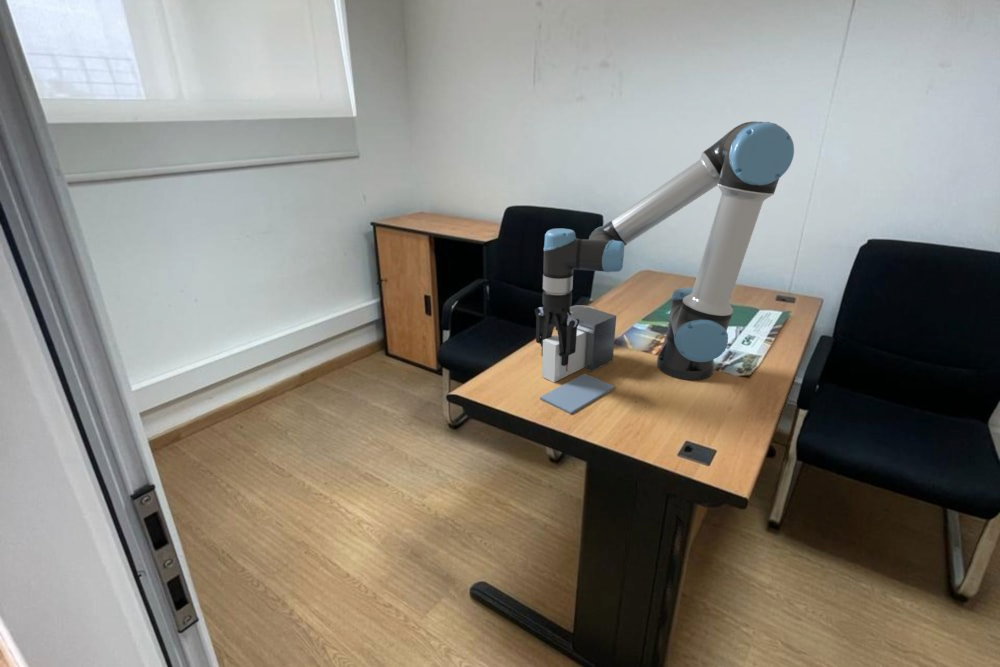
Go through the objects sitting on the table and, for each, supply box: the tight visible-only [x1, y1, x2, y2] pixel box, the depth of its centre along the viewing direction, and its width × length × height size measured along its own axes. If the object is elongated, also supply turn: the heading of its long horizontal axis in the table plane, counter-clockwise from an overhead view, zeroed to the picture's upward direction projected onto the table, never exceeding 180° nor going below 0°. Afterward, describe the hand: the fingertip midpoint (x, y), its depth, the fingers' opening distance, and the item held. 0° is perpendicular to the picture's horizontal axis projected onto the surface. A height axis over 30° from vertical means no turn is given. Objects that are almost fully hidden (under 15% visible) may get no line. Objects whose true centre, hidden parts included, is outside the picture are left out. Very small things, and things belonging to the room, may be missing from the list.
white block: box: [541, 329, 588, 383], centre depth 140 cm, size 4×16×11 cm, turn 133°
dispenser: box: [567, 307, 617, 372], centre depth 145 cm, size 10×10×14 cm
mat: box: [539, 373, 615, 415], centre depth 130 cm, size 10×18×1 cm, turn 133°
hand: (554, 371), depth 138 cm, fingers closed on white block, 4 cm apart
